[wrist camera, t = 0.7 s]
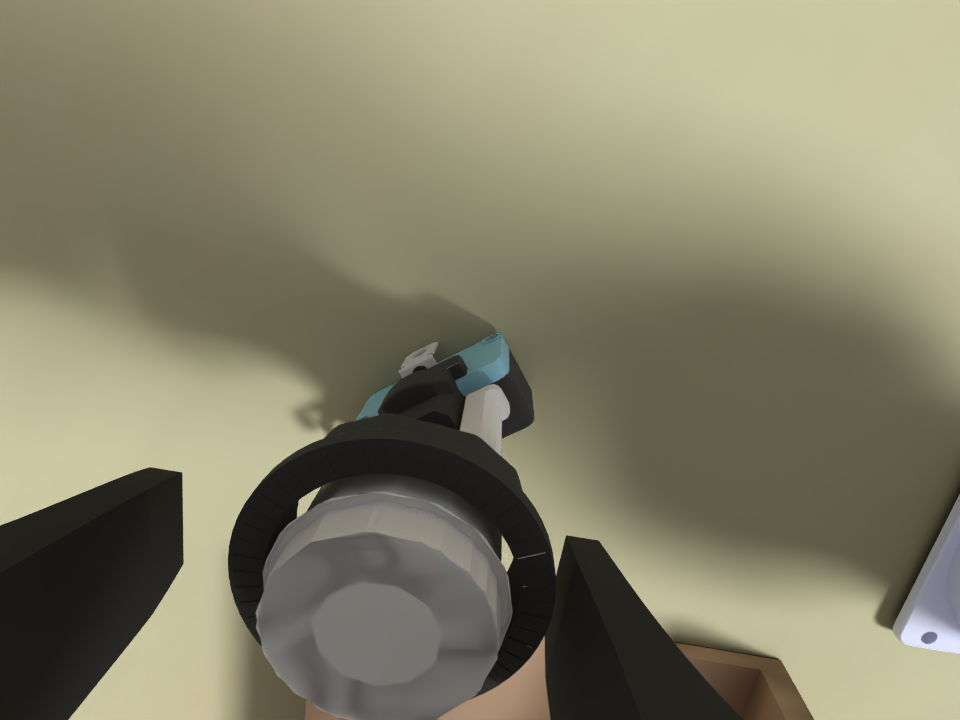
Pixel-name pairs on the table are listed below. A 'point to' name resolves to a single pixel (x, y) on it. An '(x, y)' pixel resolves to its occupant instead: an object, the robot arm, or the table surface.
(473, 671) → the push button
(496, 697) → the walled box
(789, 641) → the table surface
